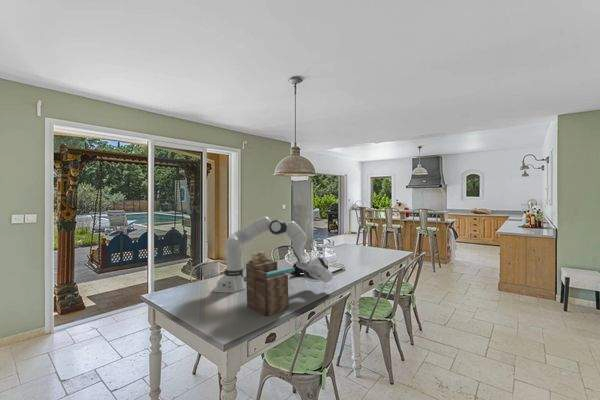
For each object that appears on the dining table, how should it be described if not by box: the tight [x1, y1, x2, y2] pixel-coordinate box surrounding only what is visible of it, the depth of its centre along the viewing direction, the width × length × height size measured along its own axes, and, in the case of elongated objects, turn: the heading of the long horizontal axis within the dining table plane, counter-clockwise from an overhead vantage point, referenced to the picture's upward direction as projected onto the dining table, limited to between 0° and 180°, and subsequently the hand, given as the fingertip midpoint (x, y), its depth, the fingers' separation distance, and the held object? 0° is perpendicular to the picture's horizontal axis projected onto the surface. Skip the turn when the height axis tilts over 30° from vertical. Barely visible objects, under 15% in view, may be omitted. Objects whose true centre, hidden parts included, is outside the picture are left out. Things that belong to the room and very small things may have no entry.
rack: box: [245, 250, 290, 317], centre depth 171 cm, size 16×20×32 cm
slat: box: [266, 266, 295, 278], centre depth 170 cm, size 22×4×2 cm, turn 132°
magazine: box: [290, 261, 311, 276], centre depth 243 cm, size 17×3×30 cm
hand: (301, 263), depth 183 cm, fingers open, 8 cm apart
